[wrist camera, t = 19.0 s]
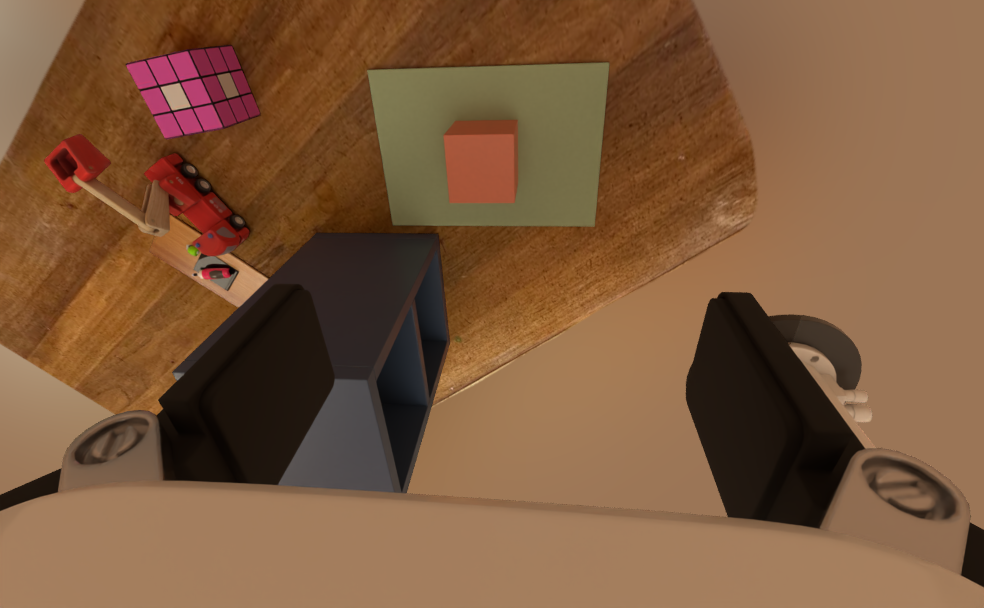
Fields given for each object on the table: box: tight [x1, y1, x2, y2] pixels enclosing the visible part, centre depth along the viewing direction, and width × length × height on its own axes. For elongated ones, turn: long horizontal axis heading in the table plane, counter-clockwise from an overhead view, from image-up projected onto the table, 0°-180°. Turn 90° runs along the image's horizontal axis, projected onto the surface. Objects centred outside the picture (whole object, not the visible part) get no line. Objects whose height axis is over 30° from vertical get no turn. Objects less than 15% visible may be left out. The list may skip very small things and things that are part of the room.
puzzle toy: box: [126, 45, 260, 139], centre depth 38 cm, size 6×6×6 cm
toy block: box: [443, 120, 518, 203], centre depth 39 cm, size 6×6×6 cm
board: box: [149, 213, 269, 308], centre depth 50 cm, size 6×12×2 cm, turn 50°
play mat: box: [367, 62, 609, 226], centre depth 41 cm, size 20×14×1 cm
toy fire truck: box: [44, 134, 250, 256], centre depth 42 cm, size 3×14×10 cm, turn 32°
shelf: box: [172, 233, 450, 493], centre depth 41 cm, size 13×14×22 cm
